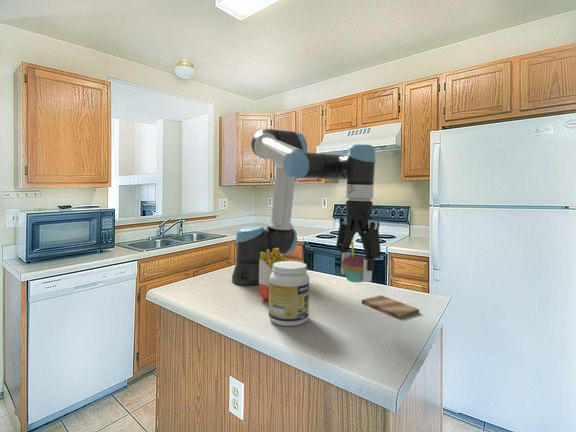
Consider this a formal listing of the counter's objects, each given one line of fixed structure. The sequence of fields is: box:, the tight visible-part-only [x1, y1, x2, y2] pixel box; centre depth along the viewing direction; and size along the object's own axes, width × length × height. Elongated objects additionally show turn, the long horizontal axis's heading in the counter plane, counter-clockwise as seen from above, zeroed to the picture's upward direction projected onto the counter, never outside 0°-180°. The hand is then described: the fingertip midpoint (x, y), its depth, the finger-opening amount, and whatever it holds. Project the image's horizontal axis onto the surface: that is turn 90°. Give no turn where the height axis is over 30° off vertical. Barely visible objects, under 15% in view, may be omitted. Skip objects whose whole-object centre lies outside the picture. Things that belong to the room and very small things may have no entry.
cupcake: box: [340, 239, 366, 283], centre depth 90 cm, size 9×8×12 cm
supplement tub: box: [268, 260, 310, 327], centre depth 94 cm, size 12×12×17 cm
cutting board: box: [361, 294, 420, 320], centre depth 105 cm, size 16×10×1 cm, turn 32°
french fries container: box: [258, 248, 288, 302], centre depth 111 cm, size 5×11×18 cm, turn 139°
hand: (355, 277), depth 91 cm, fingers closed on cupcake, 8 cm apart
